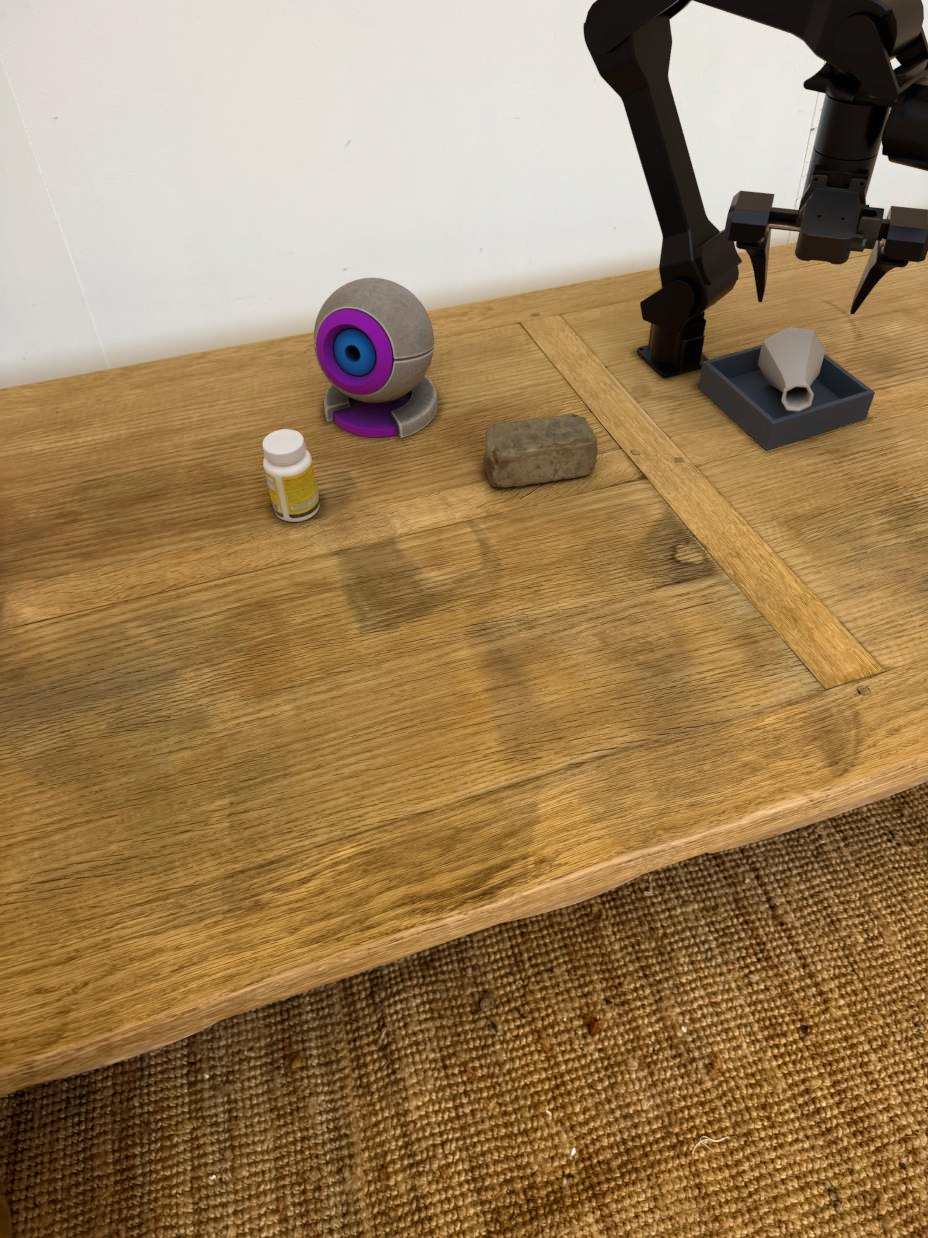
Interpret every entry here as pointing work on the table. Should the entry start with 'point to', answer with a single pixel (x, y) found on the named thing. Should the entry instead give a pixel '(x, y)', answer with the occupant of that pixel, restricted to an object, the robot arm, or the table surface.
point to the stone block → (539, 450)
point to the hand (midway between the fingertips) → (805, 306)
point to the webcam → (376, 359)
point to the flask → (792, 364)
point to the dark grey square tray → (760, 406)
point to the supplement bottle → (290, 476)
